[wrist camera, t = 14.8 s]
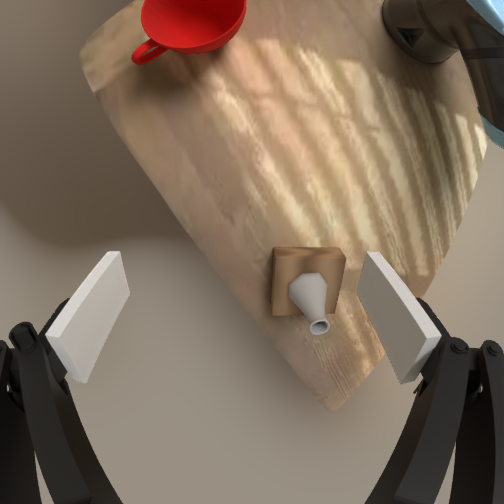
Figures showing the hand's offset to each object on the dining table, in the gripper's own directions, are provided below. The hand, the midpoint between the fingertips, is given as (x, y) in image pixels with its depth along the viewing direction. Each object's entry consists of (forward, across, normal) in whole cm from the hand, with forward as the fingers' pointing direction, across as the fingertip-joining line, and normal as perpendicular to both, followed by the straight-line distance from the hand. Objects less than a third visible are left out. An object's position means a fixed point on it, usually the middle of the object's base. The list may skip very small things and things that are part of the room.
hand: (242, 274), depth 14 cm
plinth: (+31, +11, -20) cm, 38 cm away
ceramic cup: (+31, -8, +22) cm, 39 cm away
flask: (+27, +11, -20) cm, 35 cm away
